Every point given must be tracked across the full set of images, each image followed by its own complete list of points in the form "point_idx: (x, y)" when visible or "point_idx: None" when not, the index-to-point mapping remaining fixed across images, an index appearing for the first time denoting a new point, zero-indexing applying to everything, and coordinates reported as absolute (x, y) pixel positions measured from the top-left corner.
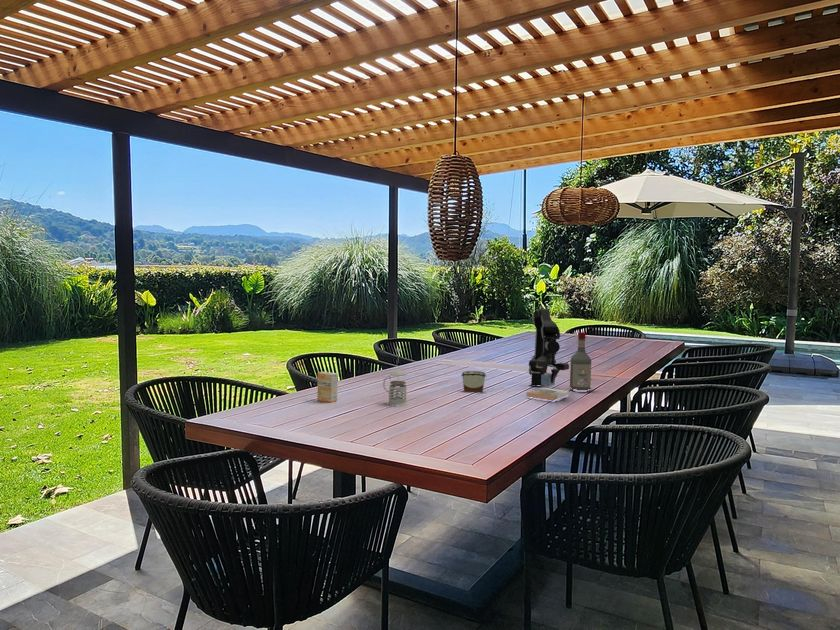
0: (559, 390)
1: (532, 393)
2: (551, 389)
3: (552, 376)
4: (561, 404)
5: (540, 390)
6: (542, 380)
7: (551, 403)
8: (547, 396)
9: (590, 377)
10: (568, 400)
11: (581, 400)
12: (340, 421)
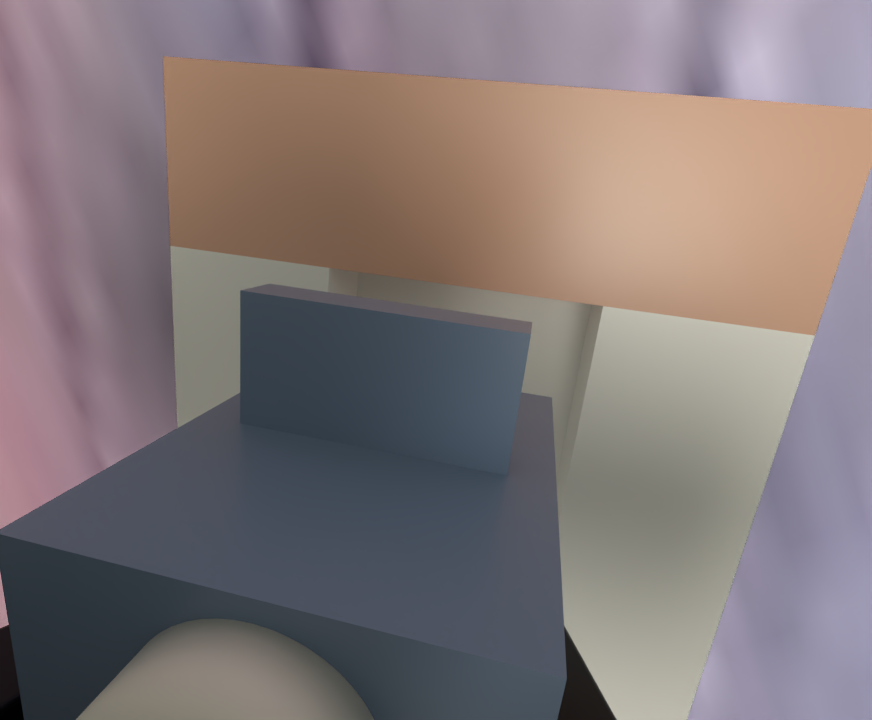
0: None
1: (693, 97)
2: None
3: (12, 657)
4: (100, 64)
5: (613, 494)
6: (441, 320)
7: (241, 19)
8: (302, 72)
9: None
10: (162, 407)
11: (59, 493)
12: None
